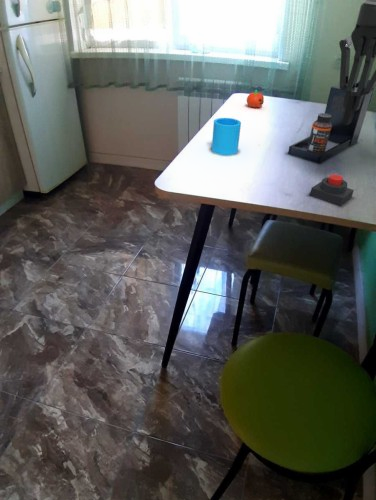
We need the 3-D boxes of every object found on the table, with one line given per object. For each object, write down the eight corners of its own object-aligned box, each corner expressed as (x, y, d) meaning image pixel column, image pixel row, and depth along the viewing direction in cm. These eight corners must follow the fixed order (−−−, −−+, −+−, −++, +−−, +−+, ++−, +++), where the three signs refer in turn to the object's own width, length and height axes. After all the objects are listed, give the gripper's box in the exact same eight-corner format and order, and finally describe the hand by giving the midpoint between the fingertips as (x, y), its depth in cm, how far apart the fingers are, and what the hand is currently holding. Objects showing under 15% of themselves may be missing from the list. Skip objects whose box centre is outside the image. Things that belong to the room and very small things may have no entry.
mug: (235, 156, 130) (238, 127, 124) (209, 153, 131) (211, 124, 125) (241, 143, 139) (244, 116, 133) (216, 140, 140) (218, 113, 134)
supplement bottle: (310, 155, 133) (319, 117, 125) (303, 149, 137) (311, 112, 130) (327, 155, 134) (337, 117, 126) (319, 148, 138) (329, 111, 131)
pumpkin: (262, 104, 175) (265, 87, 171) (262, 110, 169) (265, 92, 165) (246, 103, 176) (248, 86, 171) (245, 108, 170) (247, 91, 166)
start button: (343, 183, 109) (345, 177, 108) (337, 187, 107) (339, 181, 106) (331, 179, 111) (332, 173, 109) (325, 183, 109) (326, 177, 107)
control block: (351, 197, 111) (356, 183, 108) (340, 206, 107) (345, 191, 104) (321, 187, 115) (325, 173, 112) (309, 195, 111) (313, 180, 108)
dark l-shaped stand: (357, 142, 145) (372, 91, 134) (320, 163, 128) (334, 107, 117) (326, 134, 150) (338, 84, 139) (286, 153, 134) (297, 98, 123)
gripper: (344, 0, 87) (315, 121, 103) (406, 7, 82) (366, 133, 98) (357, -1, 92) (328, 114, 108) (416, 5, 86) (376, 126, 102)
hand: (346, 123), depth 103 cm, fingers closed
